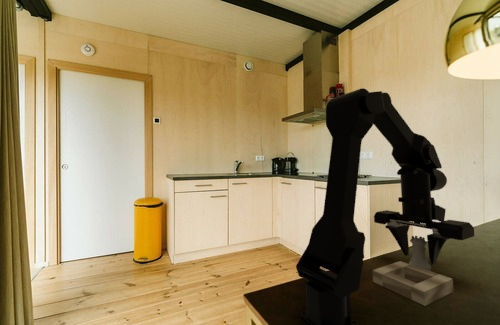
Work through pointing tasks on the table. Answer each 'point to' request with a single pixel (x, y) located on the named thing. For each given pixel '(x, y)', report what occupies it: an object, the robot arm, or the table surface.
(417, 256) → the rook chess piece
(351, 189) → the robot arm
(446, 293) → the socket collar
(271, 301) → the table surface
